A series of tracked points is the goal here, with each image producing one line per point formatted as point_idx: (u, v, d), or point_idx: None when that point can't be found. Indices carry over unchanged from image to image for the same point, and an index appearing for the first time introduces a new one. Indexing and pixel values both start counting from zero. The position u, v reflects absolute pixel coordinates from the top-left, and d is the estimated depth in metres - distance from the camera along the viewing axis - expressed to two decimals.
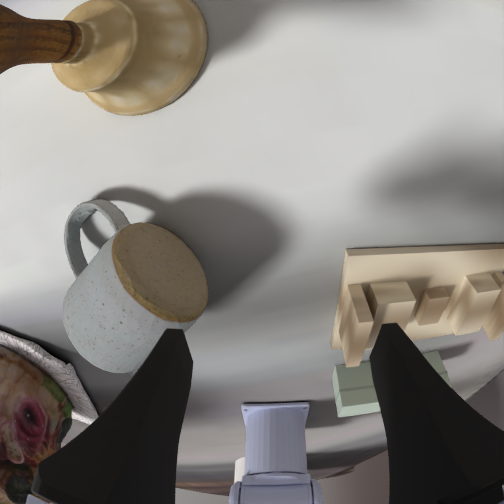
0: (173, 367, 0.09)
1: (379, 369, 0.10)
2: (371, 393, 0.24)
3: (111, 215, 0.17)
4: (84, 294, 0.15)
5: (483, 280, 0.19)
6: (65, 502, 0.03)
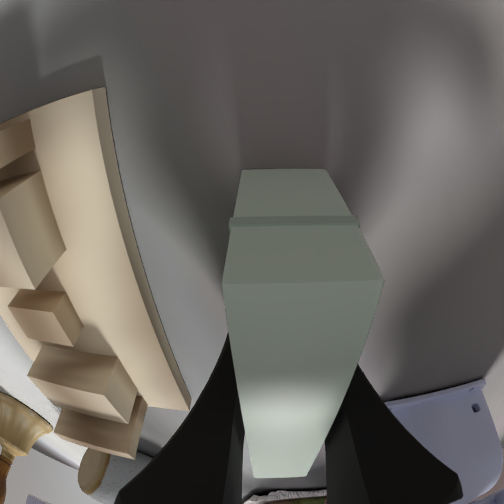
0: None
1: None
2: None
3: None
4: None
5: None
6: None
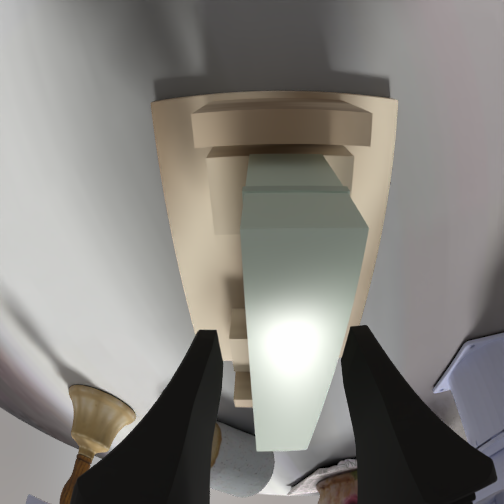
0: (210, 369, 0.09)
1: (348, 372, 0.10)
2: None
3: None
4: None
5: None
6: None
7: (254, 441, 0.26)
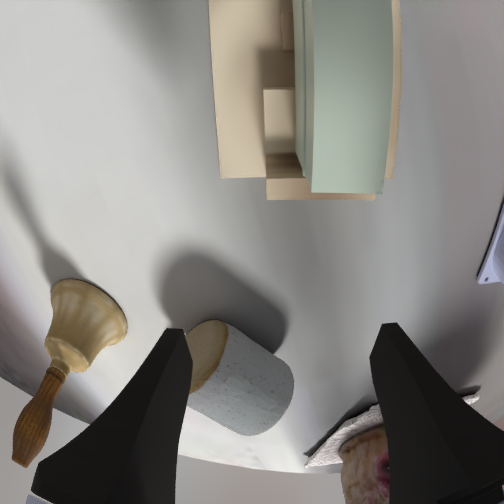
0: (173, 367, 0.09)
1: (379, 369, 0.10)
2: (308, 94, 0.08)
3: None
4: None
5: None
6: (65, 502, 0.03)
7: (268, 352, 0.23)
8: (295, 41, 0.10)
